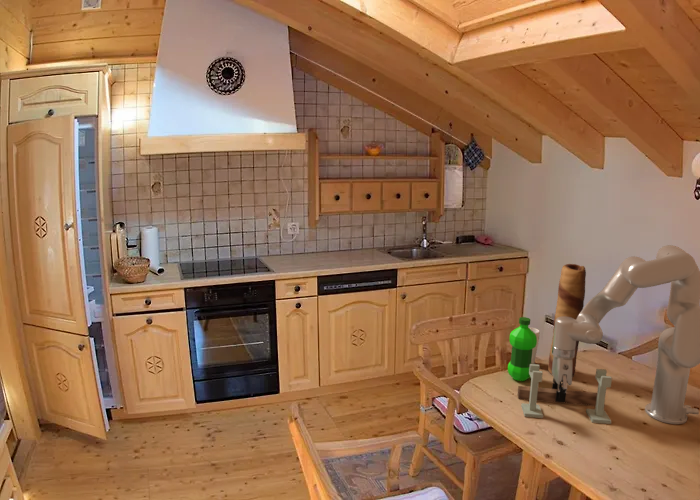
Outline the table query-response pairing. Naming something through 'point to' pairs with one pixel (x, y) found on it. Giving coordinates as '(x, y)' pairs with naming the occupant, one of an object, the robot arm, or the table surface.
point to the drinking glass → (536, 345)
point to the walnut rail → (550, 396)
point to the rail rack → (594, 414)
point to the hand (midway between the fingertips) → (558, 397)
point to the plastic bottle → (521, 350)
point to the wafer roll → (570, 300)
